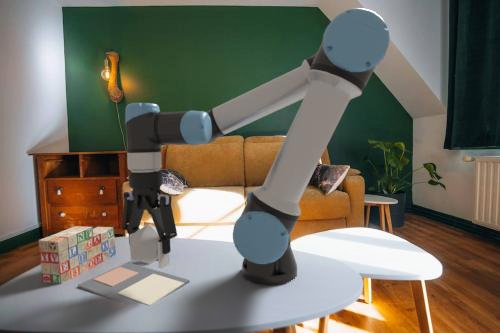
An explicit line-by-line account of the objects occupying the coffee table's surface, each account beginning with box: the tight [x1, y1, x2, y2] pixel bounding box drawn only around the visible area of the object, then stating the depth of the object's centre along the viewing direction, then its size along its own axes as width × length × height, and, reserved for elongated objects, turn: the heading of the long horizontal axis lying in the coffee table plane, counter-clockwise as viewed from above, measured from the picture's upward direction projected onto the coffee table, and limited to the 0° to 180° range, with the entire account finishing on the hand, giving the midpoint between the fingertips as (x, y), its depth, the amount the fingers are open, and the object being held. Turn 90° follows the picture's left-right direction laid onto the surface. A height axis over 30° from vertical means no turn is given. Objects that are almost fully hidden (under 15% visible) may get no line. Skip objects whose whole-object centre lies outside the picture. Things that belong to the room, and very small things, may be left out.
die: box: [128, 223, 165, 265], centre depth 70 cm, size 8×9×10 cm
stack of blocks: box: [38, 225, 117, 285], centre depth 86 cm, size 21×6×12 cm, turn 167°
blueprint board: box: [77, 262, 190, 306], centre depth 74 cm, size 24×15×1 cm, turn 61°
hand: (149, 262), depth 70 cm, fingers closed on die, 9 cm apart
